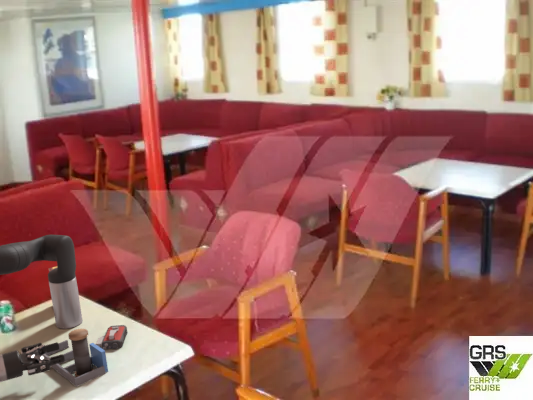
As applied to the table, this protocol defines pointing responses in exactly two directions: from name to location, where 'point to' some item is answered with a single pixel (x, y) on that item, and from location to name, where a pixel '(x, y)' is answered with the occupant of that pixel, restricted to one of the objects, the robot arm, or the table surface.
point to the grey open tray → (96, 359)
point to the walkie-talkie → (113, 337)
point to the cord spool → (80, 351)
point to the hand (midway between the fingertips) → (61, 351)
